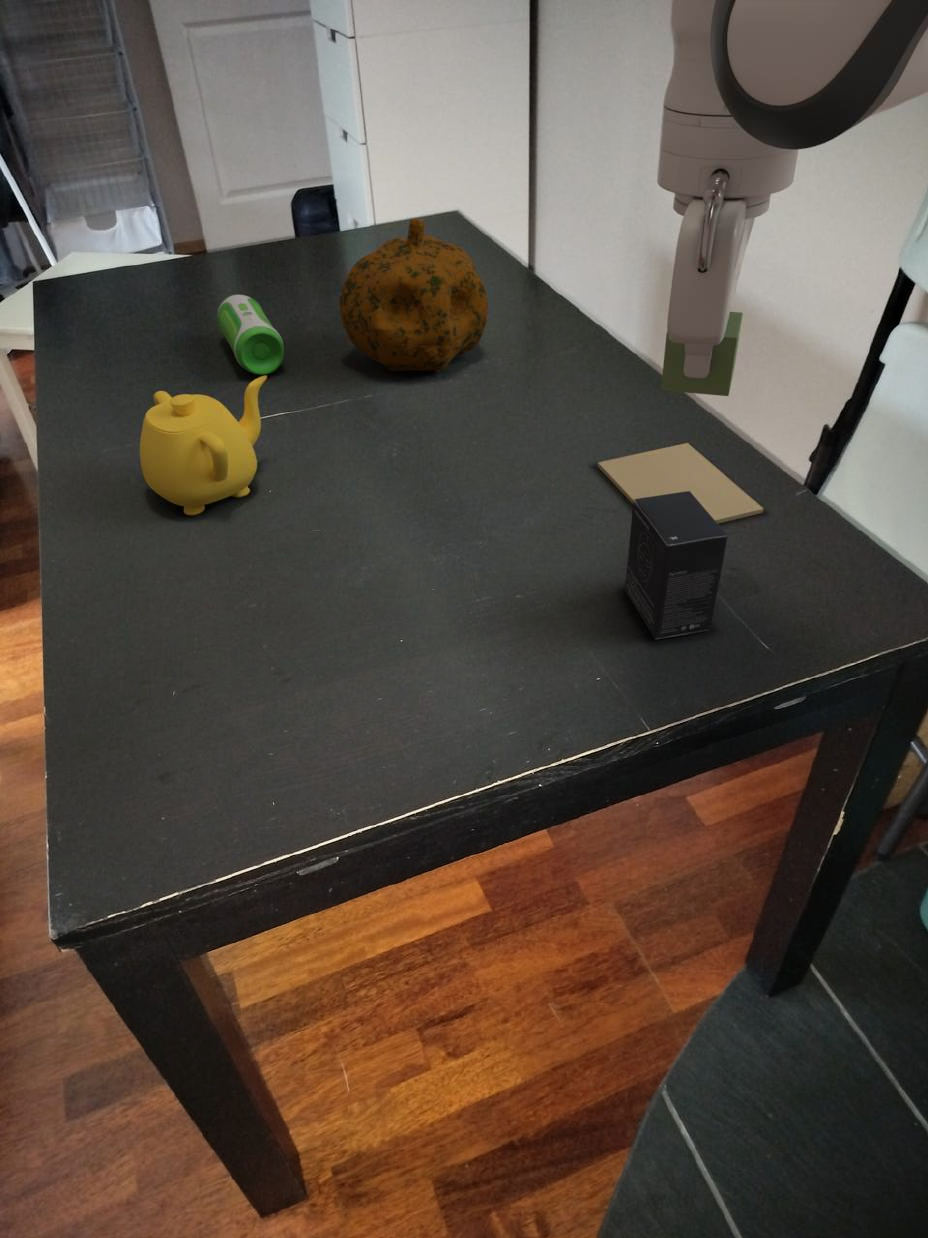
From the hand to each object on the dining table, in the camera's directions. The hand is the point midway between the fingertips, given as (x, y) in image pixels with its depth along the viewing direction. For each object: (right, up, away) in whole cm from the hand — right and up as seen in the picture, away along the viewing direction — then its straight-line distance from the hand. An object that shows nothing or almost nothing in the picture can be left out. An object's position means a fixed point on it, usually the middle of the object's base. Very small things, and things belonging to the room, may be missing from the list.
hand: (701, 356), depth 65 cm
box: (+1, -19, +16) cm, 25 cm away
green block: (0, -1, +1) cm, 2 cm away
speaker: (-50, +20, +67) cm, 86 cm away
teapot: (-47, -4, +38) cm, 60 cm away
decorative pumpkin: (-25, +19, +64) cm, 71 cm away
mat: (+6, -5, +32) cm, 33 cm away
